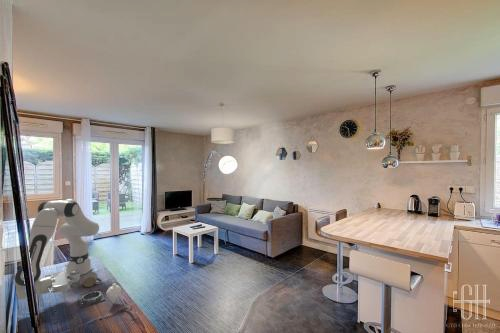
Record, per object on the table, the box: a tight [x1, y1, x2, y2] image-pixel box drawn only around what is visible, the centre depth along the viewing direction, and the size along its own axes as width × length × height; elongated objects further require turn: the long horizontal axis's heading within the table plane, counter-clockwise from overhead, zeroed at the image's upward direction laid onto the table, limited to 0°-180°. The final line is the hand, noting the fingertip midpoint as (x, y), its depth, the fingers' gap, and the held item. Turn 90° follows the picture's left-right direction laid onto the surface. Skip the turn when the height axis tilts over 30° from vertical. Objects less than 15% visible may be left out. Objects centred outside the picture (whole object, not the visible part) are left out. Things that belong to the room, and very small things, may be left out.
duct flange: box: [77, 290, 106, 309], centre depth 141 cm, size 12×12×3 cm
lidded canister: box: [69, 269, 81, 290], centre depth 142 cm, size 5×5×10 cm
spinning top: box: [106, 283, 122, 304], centre depth 138 cm, size 8×8×12 cm
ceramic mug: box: [83, 271, 103, 288], centre depth 159 cm, size 11×8×8 cm
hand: (76, 277), depth 143 cm, fingers closed on lidded canister, 5 cm apart
